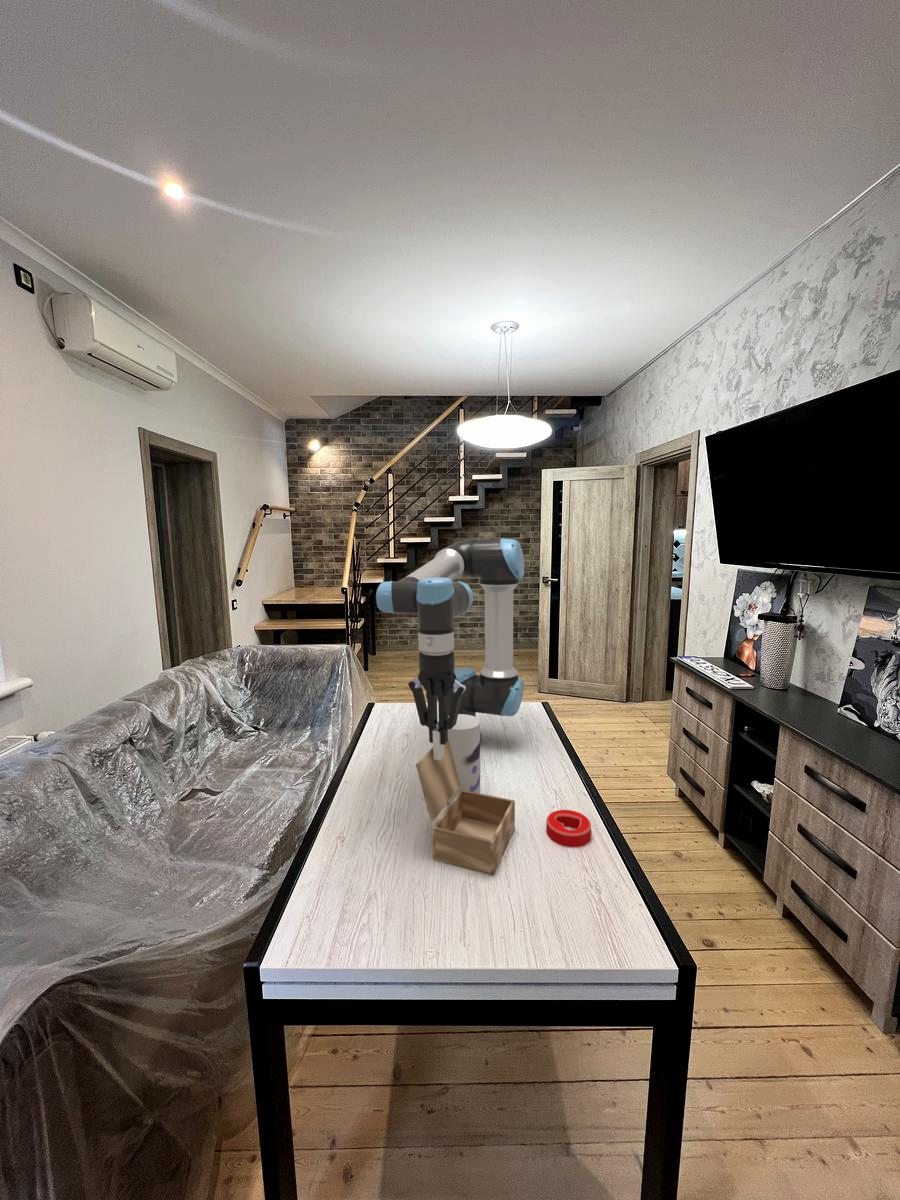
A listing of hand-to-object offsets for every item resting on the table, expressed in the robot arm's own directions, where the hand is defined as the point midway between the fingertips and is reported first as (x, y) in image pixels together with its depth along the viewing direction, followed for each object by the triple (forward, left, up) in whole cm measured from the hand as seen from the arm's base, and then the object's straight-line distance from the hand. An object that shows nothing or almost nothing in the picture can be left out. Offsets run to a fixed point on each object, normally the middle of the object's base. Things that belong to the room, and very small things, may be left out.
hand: (438, 757), depth 105 cm
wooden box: (0, +8, -18) cm, 20 cm away
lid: (0, 0, -4) cm, 4 cm away
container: (-17, -2, -19) cm, 25 cm away
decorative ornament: (-11, +26, -19) cm, 34 cm away
